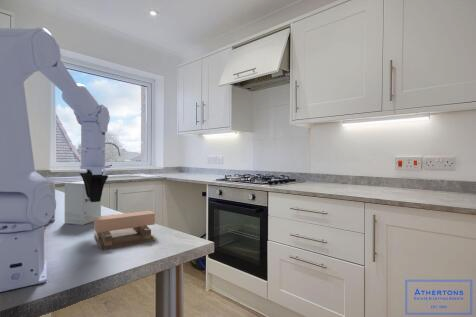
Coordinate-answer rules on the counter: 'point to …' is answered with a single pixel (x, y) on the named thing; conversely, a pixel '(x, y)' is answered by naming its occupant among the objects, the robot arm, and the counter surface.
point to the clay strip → (123, 221)
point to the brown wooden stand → (123, 237)
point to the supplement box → (79, 204)
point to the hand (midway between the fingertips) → (93, 199)
